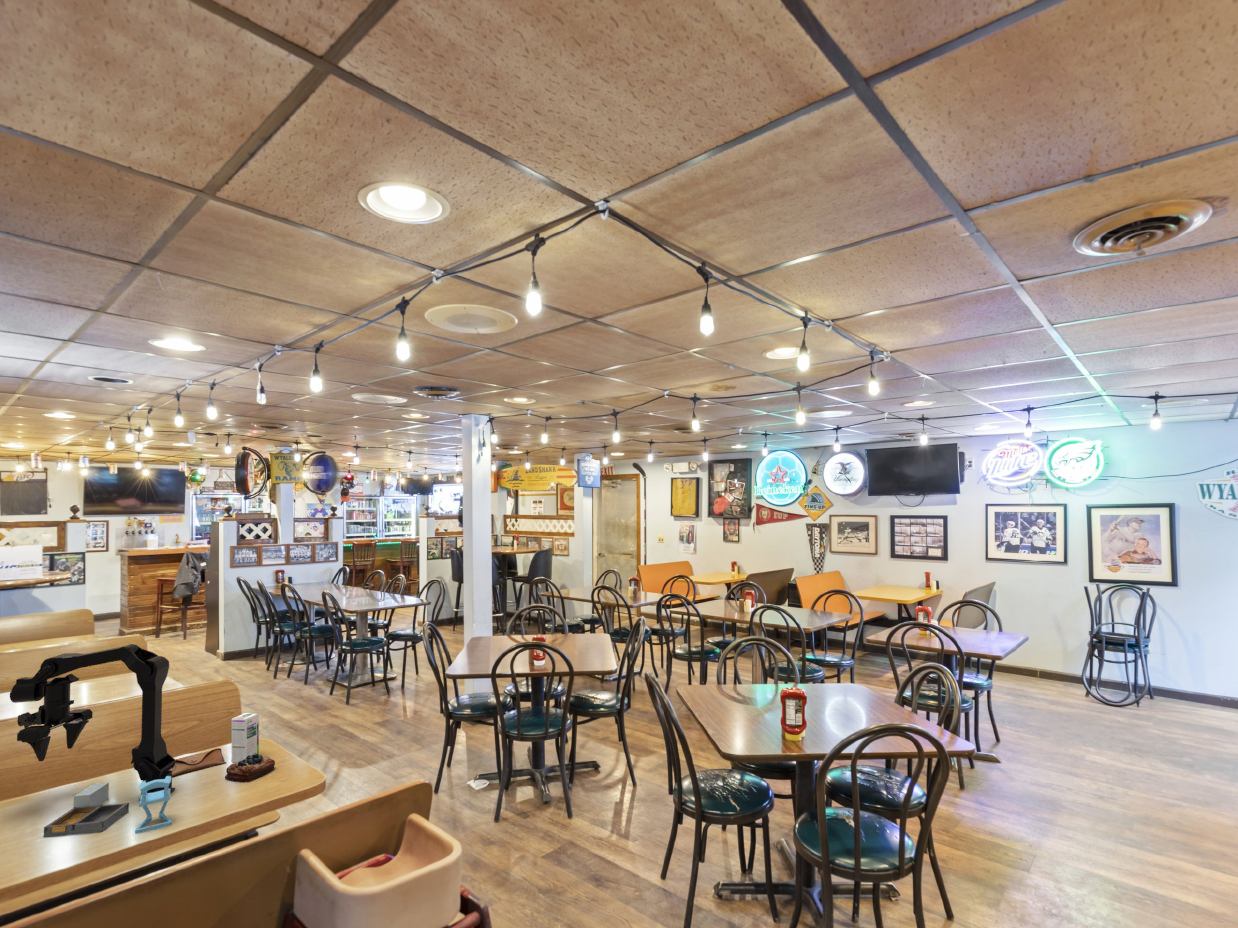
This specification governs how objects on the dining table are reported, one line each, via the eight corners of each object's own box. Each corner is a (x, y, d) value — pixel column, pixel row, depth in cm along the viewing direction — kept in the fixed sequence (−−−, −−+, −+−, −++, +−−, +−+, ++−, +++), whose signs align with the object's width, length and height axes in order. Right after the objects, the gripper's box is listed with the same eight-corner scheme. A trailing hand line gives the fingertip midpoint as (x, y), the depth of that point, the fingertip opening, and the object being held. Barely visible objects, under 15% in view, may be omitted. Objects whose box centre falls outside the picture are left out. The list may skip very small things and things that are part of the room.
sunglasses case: (162, 780, 194) (160, 758, 197) (158, 787, 198) (156, 765, 201) (228, 762, 207) (226, 742, 210) (223, 768, 211) (220, 748, 214)
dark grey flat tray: (128, 811, 174) (128, 802, 175) (101, 832, 163) (101, 822, 163) (74, 816, 173) (74, 807, 173) (42, 837, 161) (43, 827, 162)
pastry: (219, 780, 194) (220, 761, 194) (252, 765, 205) (253, 746, 206) (247, 784, 191) (248, 764, 191) (279, 768, 202) (279, 749, 203)
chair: (172, 812, 173) (173, 768, 174) (171, 824, 166) (172, 778, 167) (137, 821, 169) (139, 775, 170) (135, 833, 162) (136, 785, 163)
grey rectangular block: (108, 800, 182) (108, 782, 183) (89, 813, 174) (89, 794, 175) (93, 801, 182) (93, 783, 182) (73, 814, 174) (73, 795, 174)
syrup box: (245, 763, 206) (246, 718, 207) (230, 762, 208) (231, 717, 209) (259, 756, 212) (259, 712, 213) (244, 755, 213) (244, 711, 214)
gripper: (57, 690, 191) (56, 743, 190) (-3, 710, 173) (-5, 769, 171) (94, 689, 191) (93, 741, 190) (38, 709, 173) (37, 767, 172)
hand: (55, 754), depth 181 cm, fingers open, 9 cm apart
